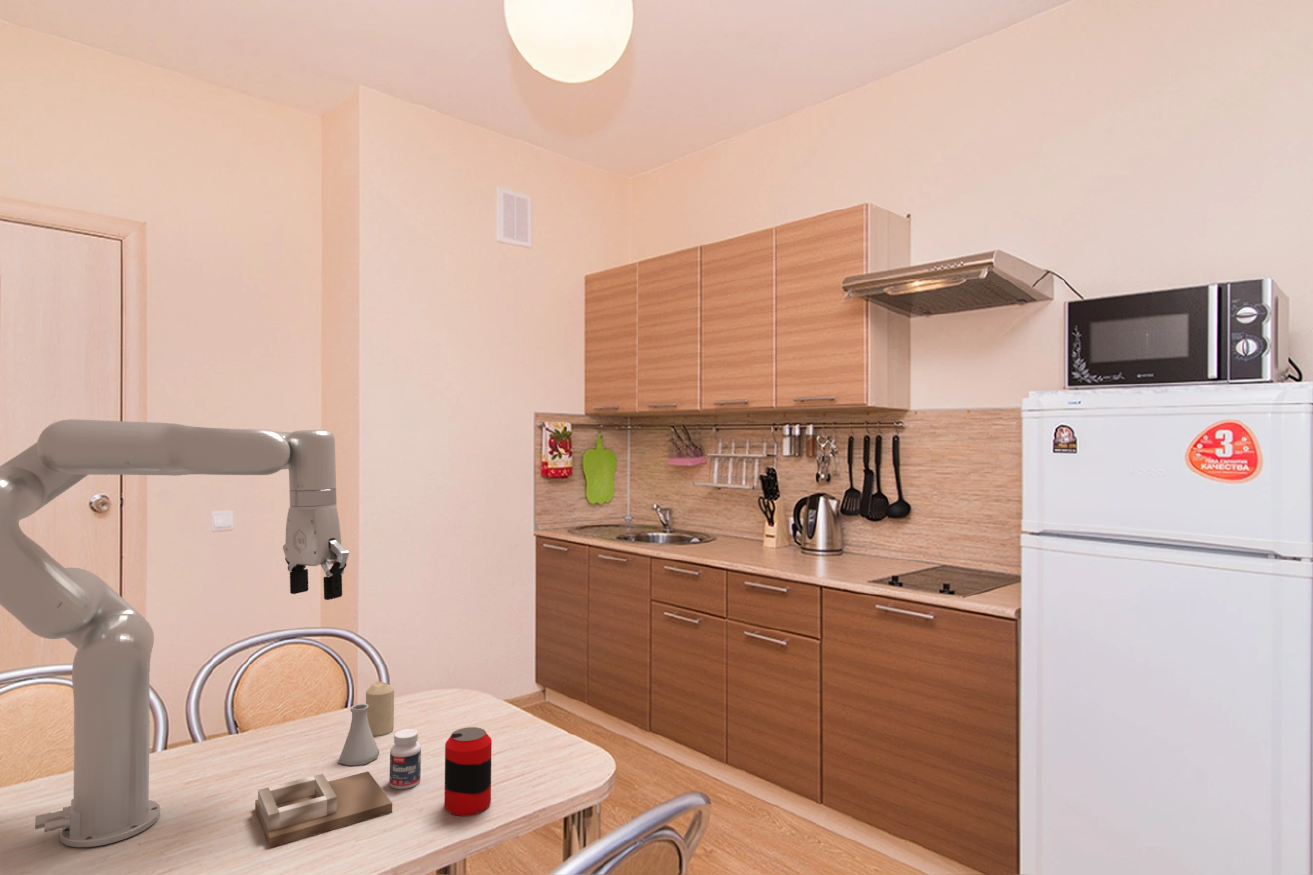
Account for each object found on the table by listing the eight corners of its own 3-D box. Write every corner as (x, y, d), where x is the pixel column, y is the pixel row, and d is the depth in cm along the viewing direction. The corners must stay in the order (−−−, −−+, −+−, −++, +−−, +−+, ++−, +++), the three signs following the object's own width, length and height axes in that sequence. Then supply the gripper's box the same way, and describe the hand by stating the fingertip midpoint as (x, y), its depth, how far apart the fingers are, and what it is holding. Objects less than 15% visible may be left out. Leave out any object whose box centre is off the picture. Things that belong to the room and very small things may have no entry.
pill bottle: (388, 791, 127) (388, 740, 127) (390, 777, 132) (391, 728, 132) (419, 787, 128) (420, 737, 128) (421, 774, 133) (421, 726, 133)
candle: (399, 729, 153) (399, 682, 153) (376, 738, 149) (377, 689, 149) (382, 723, 156) (382, 677, 156) (359, 732, 152) (360, 684, 152)
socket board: (269, 847, 109) (270, 821, 109) (255, 809, 120) (255, 784, 120) (392, 811, 120) (392, 787, 120) (368, 779, 131) (368, 757, 131)
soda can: (441, 799, 124) (442, 728, 124) (486, 790, 127) (487, 722, 127) (447, 820, 117) (448, 746, 117) (494, 811, 120) (495, 738, 120)
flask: (385, 751, 143) (386, 700, 143) (367, 768, 136) (368, 714, 136) (350, 749, 143) (351, 698, 143) (330, 765, 136) (331, 712, 136)
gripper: (264, 499, 130) (267, 594, 131) (324, 503, 121) (327, 605, 122) (303, 495, 137) (306, 586, 137) (363, 499, 128) (365, 595, 128)
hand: (316, 595), depth 129 cm, fingers open, 9 cm apart
